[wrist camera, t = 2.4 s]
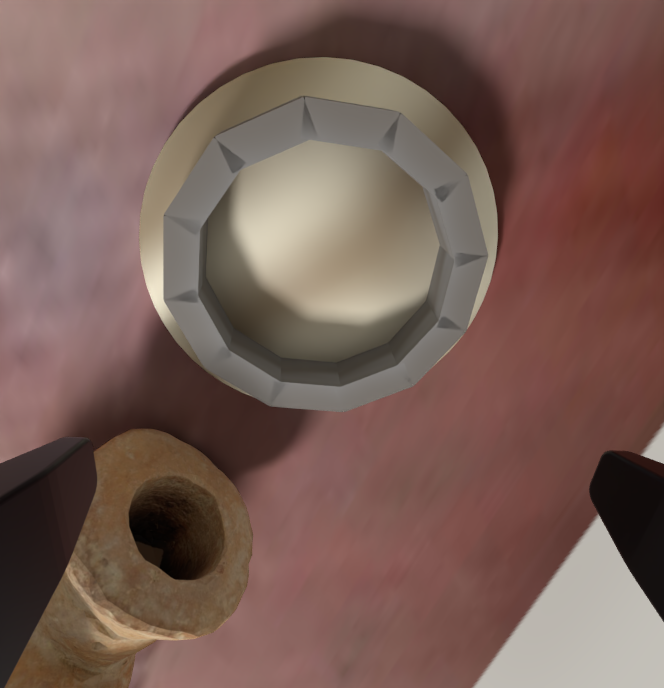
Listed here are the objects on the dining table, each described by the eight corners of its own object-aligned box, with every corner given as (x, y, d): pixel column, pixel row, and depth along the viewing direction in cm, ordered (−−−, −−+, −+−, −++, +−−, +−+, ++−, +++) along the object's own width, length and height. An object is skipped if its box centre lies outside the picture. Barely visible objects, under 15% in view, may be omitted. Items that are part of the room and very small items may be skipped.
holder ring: (77, 289, 20) (51, 315, 18) (284, -46, 16) (283, -68, 14) (346, 448, 25) (352, 484, 23) (562, 223, 21) (597, 240, 18)
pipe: (279, 480, 26) (275, 687, 17) (121, 648, 31) (55, 877, 22) (114, 391, 23) (5, 589, 14) (-31, 595, 28) (-179, 835, 19)
